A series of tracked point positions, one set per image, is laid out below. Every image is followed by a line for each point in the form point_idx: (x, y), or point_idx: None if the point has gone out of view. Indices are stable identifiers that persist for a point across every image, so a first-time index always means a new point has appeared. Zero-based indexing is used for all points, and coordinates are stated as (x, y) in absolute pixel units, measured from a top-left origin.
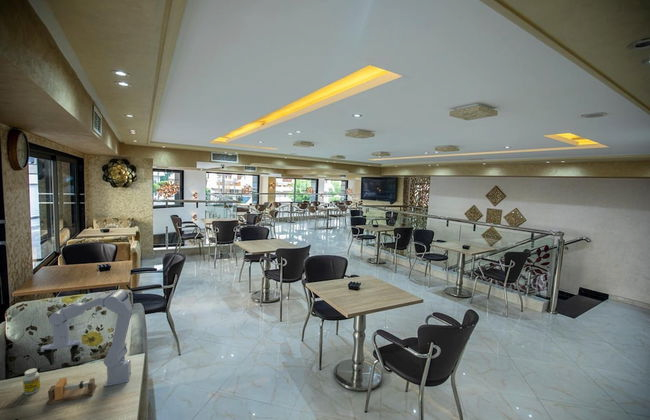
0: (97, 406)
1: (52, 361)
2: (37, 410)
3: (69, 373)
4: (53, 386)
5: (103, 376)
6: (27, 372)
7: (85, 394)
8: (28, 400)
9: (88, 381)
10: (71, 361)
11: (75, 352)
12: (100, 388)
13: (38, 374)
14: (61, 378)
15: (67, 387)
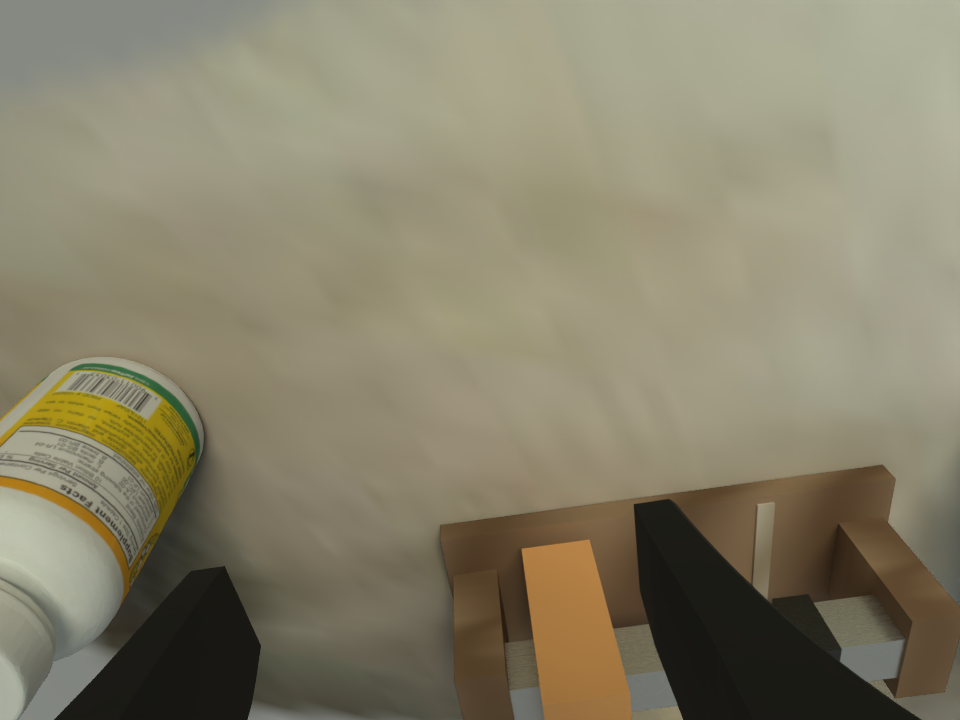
0: (923, 714)
1: (228, 707)
2: (426, 694)
3: (399, 87)
4: (485, 692)
5: (949, 283)
6: None
7: None
8: (230, 573)
9: (893, 655)
10: (645, 599)
11: (783, 650)
12: (929, 510)
13: (92, 573)
14: (563, 702)
15: (659, 699)
